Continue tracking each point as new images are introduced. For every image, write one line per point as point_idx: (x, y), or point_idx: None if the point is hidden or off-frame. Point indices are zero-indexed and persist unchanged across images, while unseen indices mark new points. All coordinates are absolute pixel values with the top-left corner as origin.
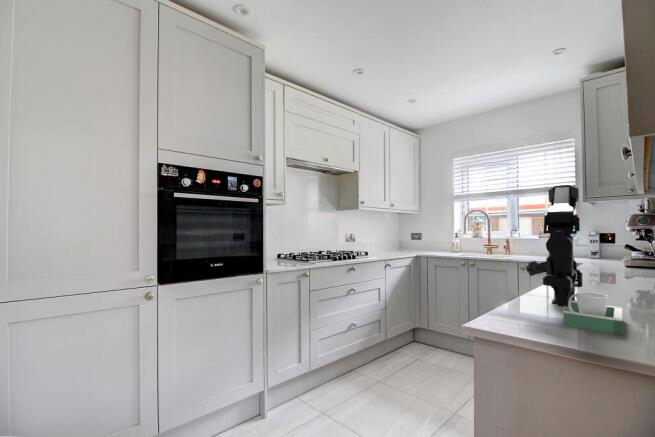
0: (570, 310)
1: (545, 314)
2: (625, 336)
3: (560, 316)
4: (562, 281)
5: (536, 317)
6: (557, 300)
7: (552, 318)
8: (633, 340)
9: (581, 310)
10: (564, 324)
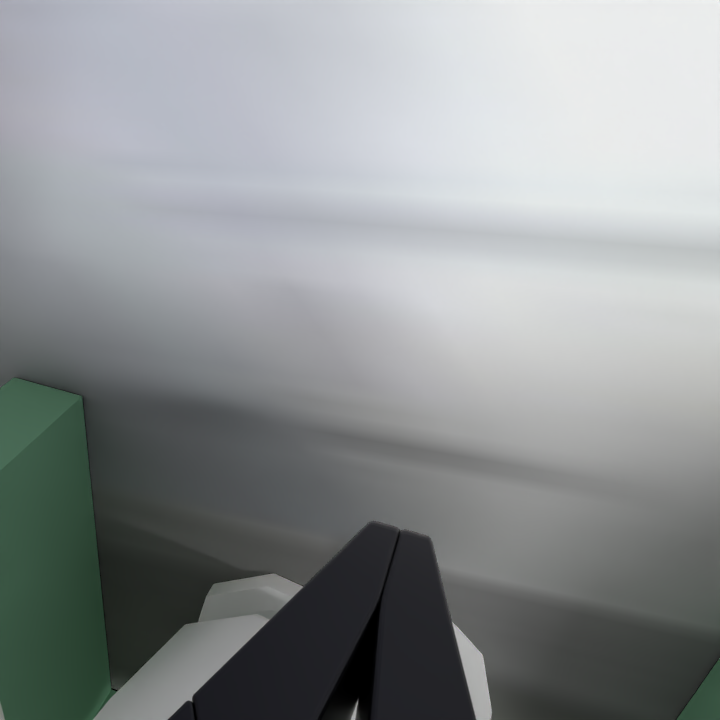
0: None
1: (514, 207)
2: None
3: (489, 420)
4: None
5: (169, 31)
6: (282, 608)
7: (280, 292)
8: None
9: (137, 715)
10: (4, 390)
